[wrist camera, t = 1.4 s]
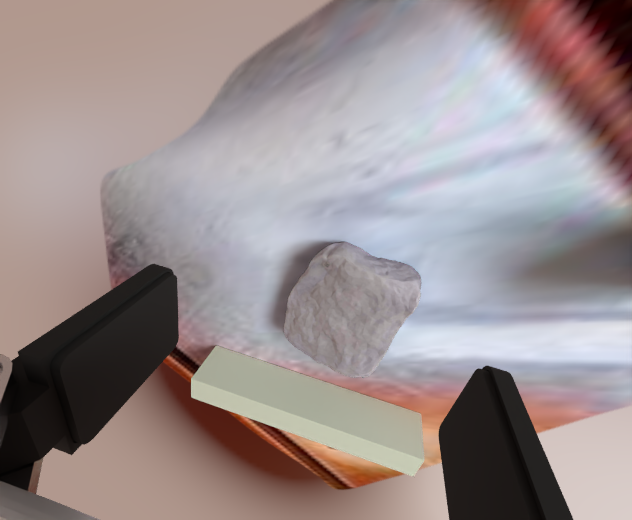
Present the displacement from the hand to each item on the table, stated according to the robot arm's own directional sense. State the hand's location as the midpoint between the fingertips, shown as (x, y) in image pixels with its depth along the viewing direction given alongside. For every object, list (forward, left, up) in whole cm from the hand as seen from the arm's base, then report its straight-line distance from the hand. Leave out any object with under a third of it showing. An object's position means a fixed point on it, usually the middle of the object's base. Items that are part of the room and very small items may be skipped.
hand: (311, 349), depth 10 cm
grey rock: (+10, +1, -18) cm, 20 cm away
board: (+23, 0, -17) cm, 29 cm away
